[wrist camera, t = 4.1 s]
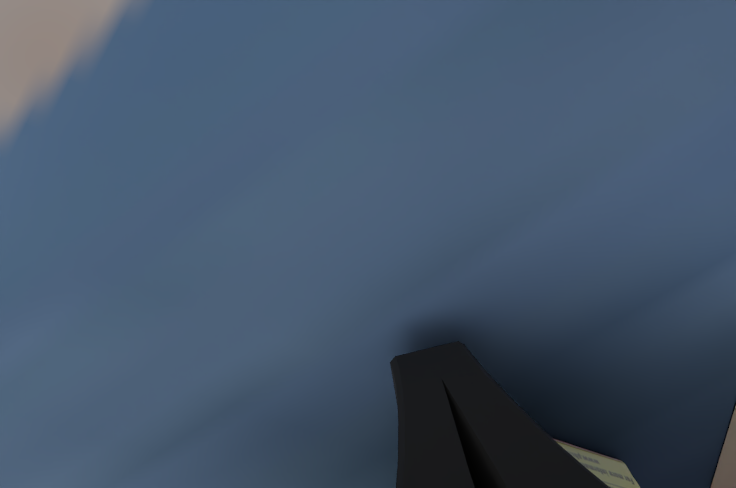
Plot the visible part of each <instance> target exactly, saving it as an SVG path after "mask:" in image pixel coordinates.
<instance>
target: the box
mask: <svg viewBox="0 0 736 488" xmlns="http://www.w3.org/2000/svg"><path fill="white" fill-rule="evenodd" d="M553 439H554V438H553ZM554 440H555V441H556V442H557V443H558V444H559V445H560V446H562V447H563V448H564V449H565V450H566V451H567V452H568V453H570V454H571V455H572V456H573V457H574V458H575V459H576V460H578V461H579V462H580V463H581V464H582V465H583V466H585V467H586V468H587V469H588V470H589V471H591V472H592V473H593V474H594V475H595V476H597V477H598V478H599V479H600V480H601V481H603V482H604V483H605V484H606V485H608V486H609V487H610V488H640V486H639V485H638V483H637V482H636V480H635V479H634V477H633V476H632V474H631V473H630V471H629V469H628V468H627V466H626V464H625V463H624V462H622V461H621V460H618V459H615V458H612V457H608V456H605V455H602V454H599V453H596V452H593V451H590V450H587V449H584V448H581V447H578V446H575V445H572V444H569V443H566V442H563V441H560V440H557V439H554Z"/></svg>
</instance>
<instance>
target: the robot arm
mask: <svg viewBox="0 0 736 488" xmlns="http://www.w3.org/2000/svg"><path fill="white" fill-rule="evenodd" d="M390 365H391V370H392V376H393V382H394V388H395V393H396V399H397V405H398V469H397V482H396V488H610V487H609V486H608V485H606V484H605V483H604V482H603V481H601V480H600V479H599V478H598V477H597V476H595V475H594V474H593V473H592V472H591V471H589V470H588V469H587V468H586V467H585V466H583V465H582V464H581V463H580V462H579V461H578V460H576V459H575V458H574V457H573V456H572V455H571V454H570V453H568V452H567V451H566V450H565V449H564V448H563V447H562V446H560V445H559V444H558V443H557V442H556V441H555V440H554V439H553V438H552V437H551V436H550V435H548V434H547V433H546V432H545V431H544V430H543V429H542V428H541V427H540V426H539V425H538V424H537V423H536V422H535V421H534V420H533V419H532V418H531V417H530V416H529V415H528V414H527V413H526V412H525V411H524V410H523V409H521V408H520V407H519V406H518V405H517V404H516V403H515V402H514V401H513V399H512V398H511V397H510V396H509V395H508V394H507V393H506V392H505V391H504V390H503V389H502V388H501V387H500V386H499V385H498V384H497V383H496V381H495V380H494V379H493V378H492V377H491V376H490V375H489V374H488V373H487V371H486V370H485V369H484V368H483V367H482V366H481V365H480V363H479V362H478V361H477V360H476V359H475V357H474V356H473V355H472V354H471V353H470V351H469V350H468V349H467V347H466V346H465V345H464V344H462V343H461V342H459V341H457V342H453V343H449V344H445V345H441V346H436V347H432V348H428V349H424V350H420V351H416V352H412V353H407V354H403V355H399V356H395V357H394V358H393V360H392V361H391V362H390Z"/></svg>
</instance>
